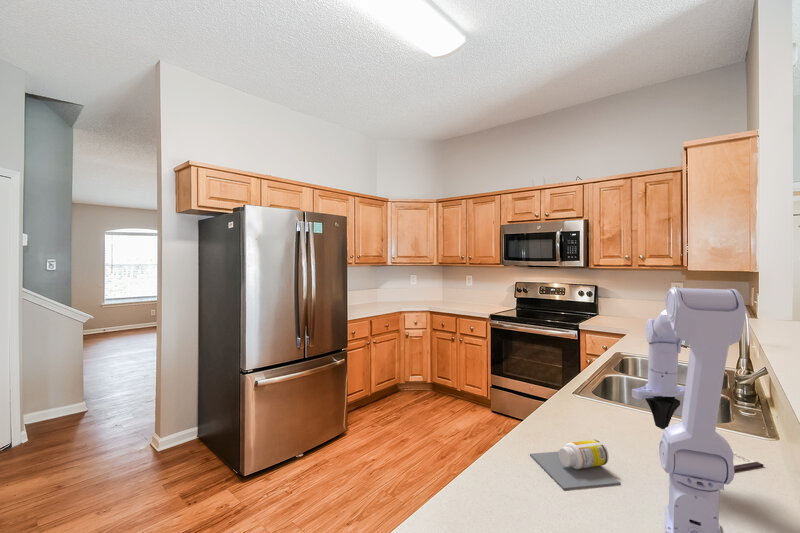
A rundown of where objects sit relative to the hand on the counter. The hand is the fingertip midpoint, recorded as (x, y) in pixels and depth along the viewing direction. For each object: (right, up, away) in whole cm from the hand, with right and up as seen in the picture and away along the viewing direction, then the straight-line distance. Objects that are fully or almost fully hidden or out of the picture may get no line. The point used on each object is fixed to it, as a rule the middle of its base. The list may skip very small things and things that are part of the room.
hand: (661, 427), depth 88 cm
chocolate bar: (+15, -10, +3) cm, 19 cm away
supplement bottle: (-14, -6, 0) cm, 15 cm away
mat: (-22, -9, -1) cm, 24 cm away
